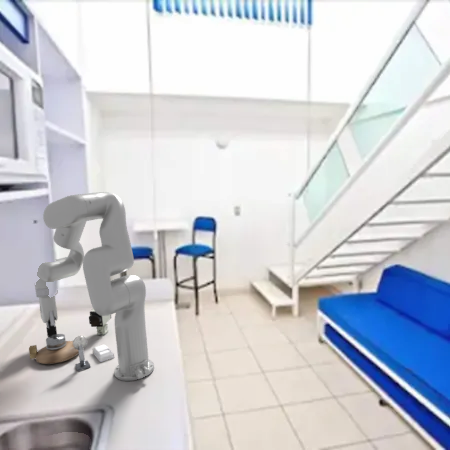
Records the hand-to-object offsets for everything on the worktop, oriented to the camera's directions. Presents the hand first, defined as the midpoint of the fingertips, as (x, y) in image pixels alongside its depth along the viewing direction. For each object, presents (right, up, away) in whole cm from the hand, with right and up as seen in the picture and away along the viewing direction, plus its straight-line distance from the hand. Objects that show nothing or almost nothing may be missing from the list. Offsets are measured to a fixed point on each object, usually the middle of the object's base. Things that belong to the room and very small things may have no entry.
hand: (52, 336), depth 145 cm
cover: (+5, -2, -7) cm, 8 cm away
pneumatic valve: (+16, -1, +8) cm, 18 cm away
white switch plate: (+23, -4, -11) cm, 26 cm away
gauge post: (+19, -5, -19) cm, 27 cm away
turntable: (+6, -3, -10) cm, 12 cm away
